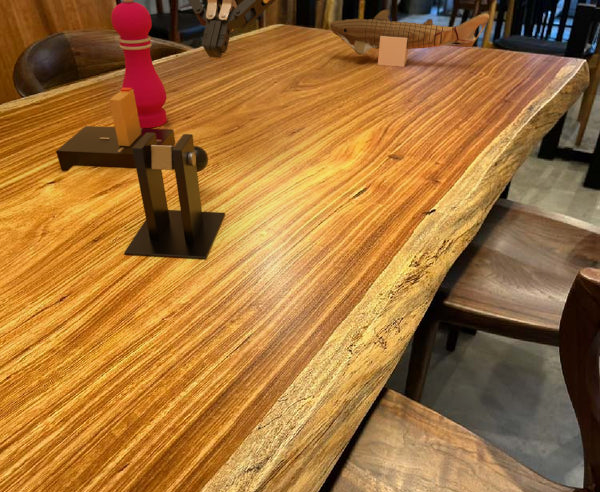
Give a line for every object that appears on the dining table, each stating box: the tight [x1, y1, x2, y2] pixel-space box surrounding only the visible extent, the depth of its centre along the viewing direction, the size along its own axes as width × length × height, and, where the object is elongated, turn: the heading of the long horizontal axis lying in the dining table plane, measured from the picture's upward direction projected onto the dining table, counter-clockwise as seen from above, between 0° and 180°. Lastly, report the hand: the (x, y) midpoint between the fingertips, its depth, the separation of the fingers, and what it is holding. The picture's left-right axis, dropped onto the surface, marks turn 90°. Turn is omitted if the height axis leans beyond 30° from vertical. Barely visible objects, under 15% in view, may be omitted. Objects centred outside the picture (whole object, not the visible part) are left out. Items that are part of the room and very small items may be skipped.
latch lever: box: [151, 145, 209, 173], centre depth 61 cm, size 14×3×3 cm, turn 174°
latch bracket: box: [123, 133, 226, 261], centre depth 58 cm, size 10×9×12 cm
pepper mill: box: [110, 0, 168, 129], centre depth 87 cm, size 7×7×20 cm
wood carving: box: [329, 9, 490, 68], centre depth 122 cm, size 9×35×11 cm, turn 74°
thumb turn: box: [108, 87, 141, 146], centre depth 76 cm, size 5×2×7 cm, turn 174°
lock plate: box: [55, 125, 176, 172], centre depth 79 cm, size 14×10×3 cm
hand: (212, 53), depth 66 cm, fingers closed
